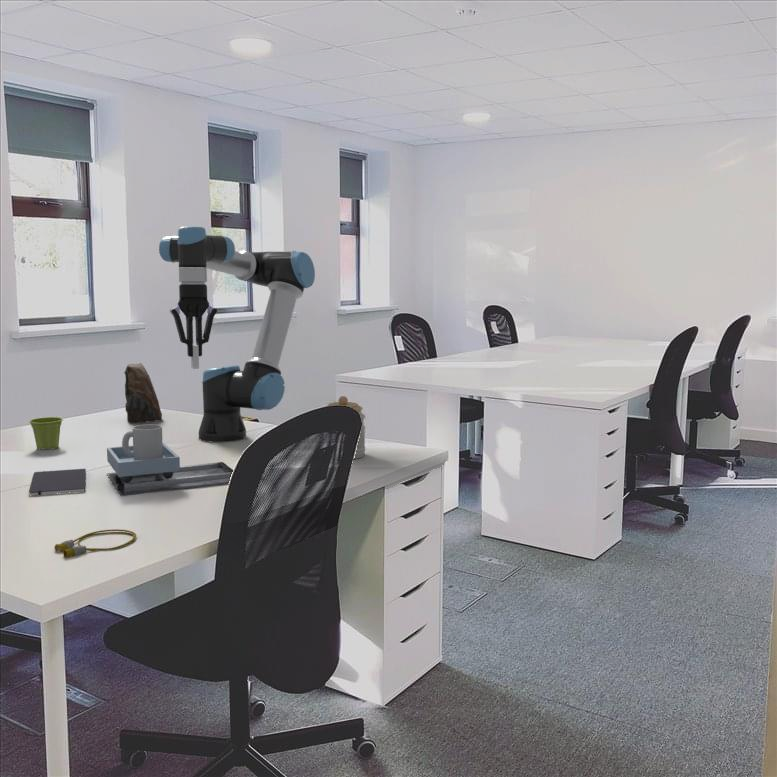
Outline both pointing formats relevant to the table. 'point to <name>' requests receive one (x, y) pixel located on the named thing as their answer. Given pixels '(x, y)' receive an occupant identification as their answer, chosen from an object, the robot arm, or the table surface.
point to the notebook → (58, 482)
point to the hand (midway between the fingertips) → (195, 368)
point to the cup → (144, 442)
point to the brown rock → (140, 395)
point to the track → (174, 479)
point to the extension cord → (81, 549)
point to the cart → (142, 463)
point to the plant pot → (46, 432)
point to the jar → (361, 442)
